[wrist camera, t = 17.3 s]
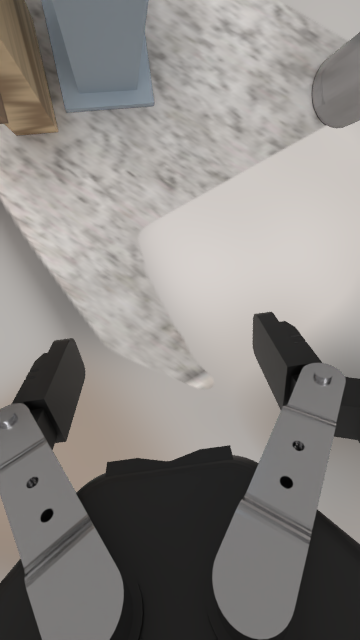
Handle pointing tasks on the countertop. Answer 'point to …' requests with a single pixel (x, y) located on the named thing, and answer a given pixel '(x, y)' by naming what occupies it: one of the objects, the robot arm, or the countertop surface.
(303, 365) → the robot arm
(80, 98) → the blue grey stand
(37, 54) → the oak post
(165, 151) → the countertop surface
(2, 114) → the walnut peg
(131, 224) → the countertop surface
